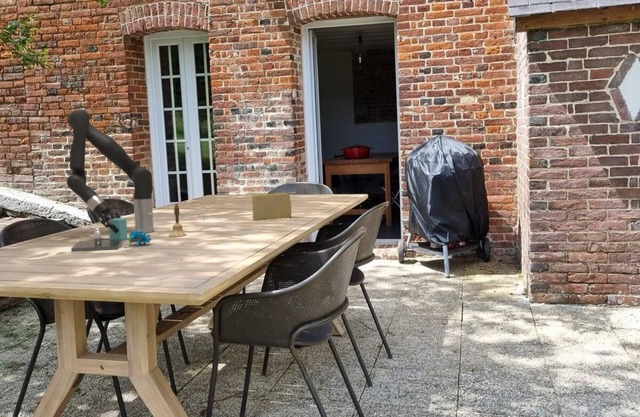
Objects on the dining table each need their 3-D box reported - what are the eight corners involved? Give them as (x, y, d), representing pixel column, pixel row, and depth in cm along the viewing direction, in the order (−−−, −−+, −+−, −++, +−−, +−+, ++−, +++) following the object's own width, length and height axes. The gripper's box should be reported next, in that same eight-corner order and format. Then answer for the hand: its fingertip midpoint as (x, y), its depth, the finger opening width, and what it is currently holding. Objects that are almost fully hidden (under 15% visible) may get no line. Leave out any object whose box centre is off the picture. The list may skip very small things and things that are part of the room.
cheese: (291, 217, 411) (290, 191, 409) (291, 219, 401) (291, 193, 400) (253, 218, 410) (252, 192, 408) (252, 220, 400) (251, 194, 398)
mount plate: (123, 242, 335) (122, 223, 334) (117, 249, 316) (116, 229, 315) (79, 244, 332) (78, 225, 331) (71, 251, 313) (70, 231, 312)
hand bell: (189, 235, 352) (188, 203, 350) (175, 237, 346) (174, 205, 344) (179, 233, 358) (178, 202, 356) (166, 235, 352) (164, 204, 350)
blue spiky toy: (155, 240, 328) (144, 227, 321) (152, 250, 325) (141, 238, 317) (135, 242, 332) (124, 230, 325) (131, 253, 328) (120, 240, 321)
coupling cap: (116, 238, 345) (115, 218, 344) (127, 238, 344) (126, 218, 343) (109, 240, 340) (108, 220, 338) (120, 240, 338) (119, 220, 337)
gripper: (94, 202, 335) (117, 228, 333) (111, 199, 348) (133, 223, 347) (85, 213, 337) (108, 238, 335) (102, 209, 351) (124, 233, 349)
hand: (121, 230), depth 341 cm, fingers closed on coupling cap, 6 cm apart
